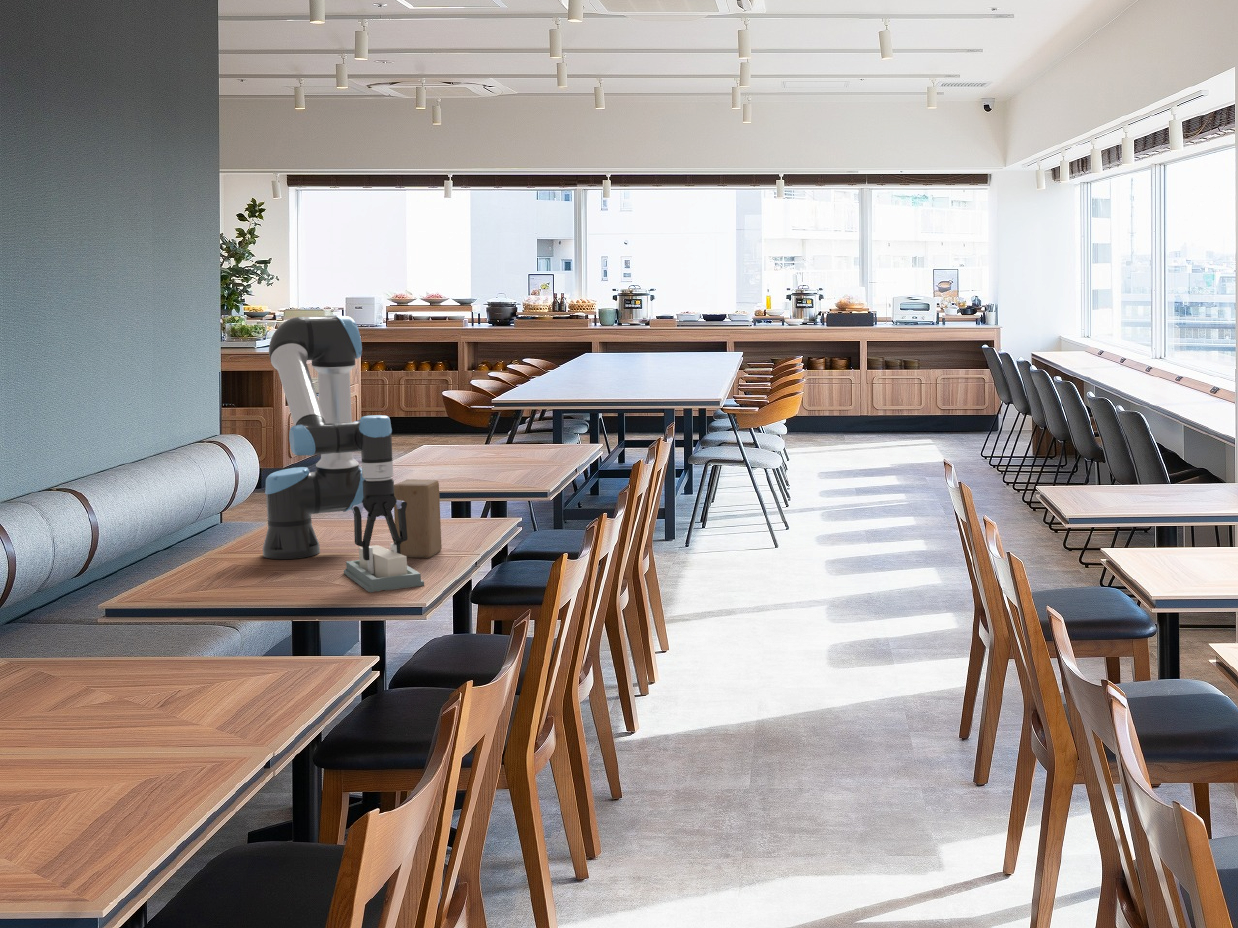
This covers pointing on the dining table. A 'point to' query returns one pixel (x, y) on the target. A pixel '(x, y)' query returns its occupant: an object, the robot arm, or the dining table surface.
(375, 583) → the tray
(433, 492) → the wooden block
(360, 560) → the cream rectangular bar
